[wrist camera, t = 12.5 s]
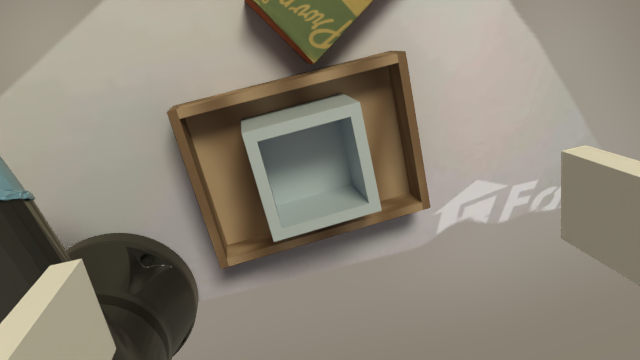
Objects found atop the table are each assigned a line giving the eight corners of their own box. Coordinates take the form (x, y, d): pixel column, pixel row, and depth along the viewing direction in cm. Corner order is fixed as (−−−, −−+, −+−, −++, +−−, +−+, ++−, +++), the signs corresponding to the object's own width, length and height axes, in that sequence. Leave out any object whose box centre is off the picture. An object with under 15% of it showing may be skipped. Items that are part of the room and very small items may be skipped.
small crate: (240, 119, 42) (241, 133, 36) (341, 92, 43) (359, 101, 37) (268, 213, 46) (273, 241, 39) (361, 186, 46) (381, 210, 40)
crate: (222, 250, 47) (221, 268, 43) (173, 106, 42) (166, 112, 38) (415, 194, 49) (430, 207, 45) (391, 50, 44) (405, 51, 40)
